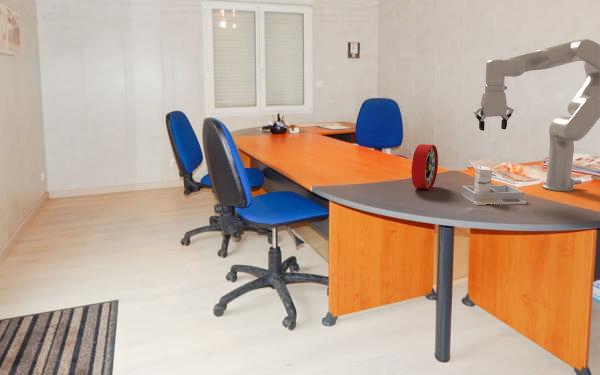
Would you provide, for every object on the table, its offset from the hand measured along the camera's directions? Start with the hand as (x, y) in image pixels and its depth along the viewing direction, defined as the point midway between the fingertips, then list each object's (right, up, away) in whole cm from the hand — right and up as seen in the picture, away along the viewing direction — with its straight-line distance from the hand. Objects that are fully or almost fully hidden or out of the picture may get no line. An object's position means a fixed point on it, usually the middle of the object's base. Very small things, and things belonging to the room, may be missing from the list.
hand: (492, 129), depth 215 cm
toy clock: (-27, -26, +10) cm, 39 cm away
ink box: (-9, -29, -10) cm, 32 cm away
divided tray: (-5, -30, -12) cm, 32 cm away
